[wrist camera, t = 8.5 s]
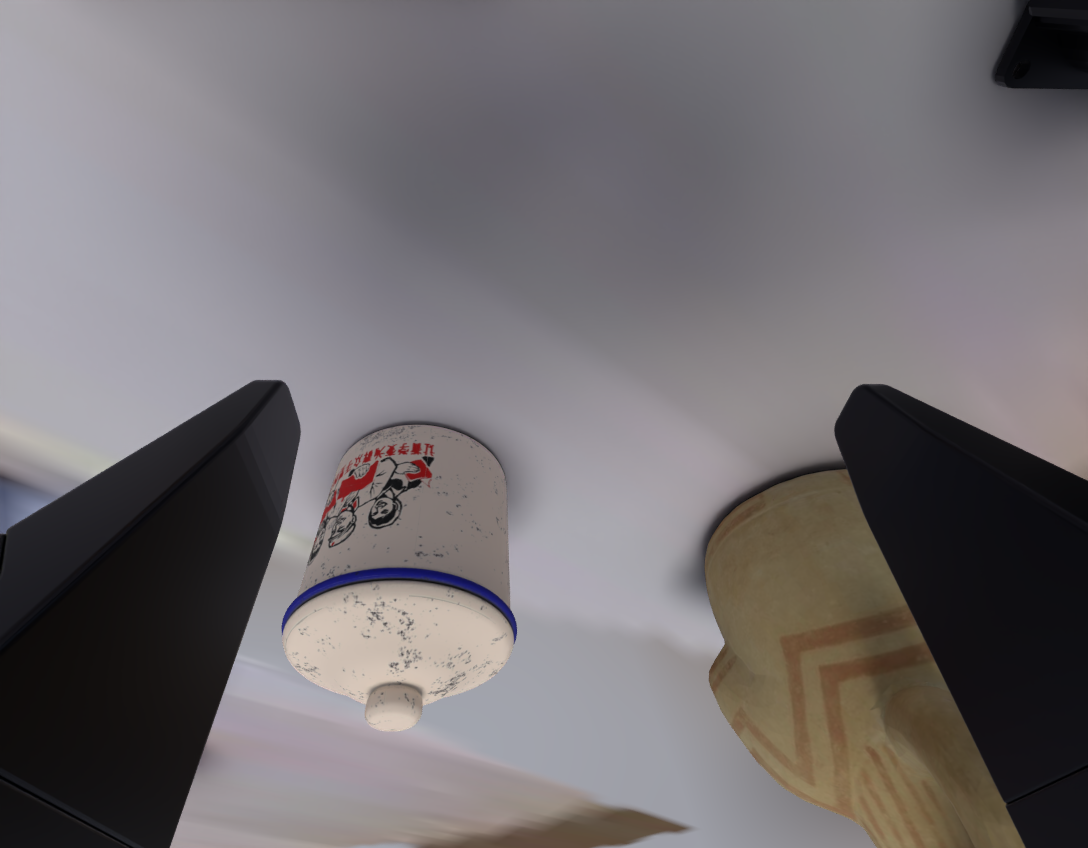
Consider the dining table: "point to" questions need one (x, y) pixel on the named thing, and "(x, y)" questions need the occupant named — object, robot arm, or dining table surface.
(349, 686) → the teacup with lid
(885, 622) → the ceramic vessel
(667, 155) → the dining table surface
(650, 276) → the dining table surface
